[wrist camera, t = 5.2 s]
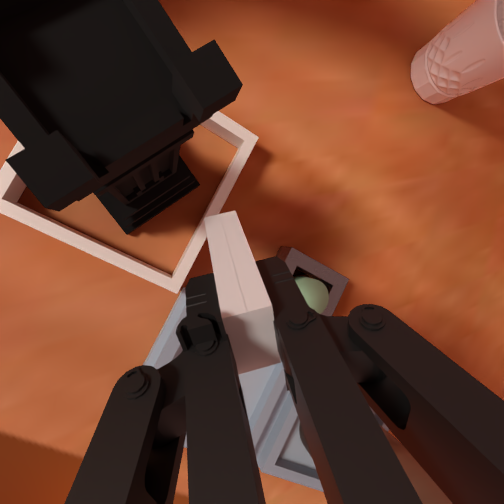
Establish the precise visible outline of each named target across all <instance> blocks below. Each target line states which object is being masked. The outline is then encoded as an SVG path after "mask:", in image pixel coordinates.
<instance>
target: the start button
mask: <svg viewBox="0 0 504 504" xmlns="http://www.w3.org/2000/svg"><path fill="white" fill-rule="evenodd" d="M293 278H294V279H295V281H296V283H297V285H298V287H299V289H300V291H301V293H302V295H303V296H304V298H305V300H306V302H307V304H308V305H309V307H310V308H312V309H314V310H315V311H316V312H317V313H319V314H321V313H322V312H323V311H324V310H325V308H326V307H327V304H328V300H329V294H328V290H327V288H326V286H325V285H324V284H323V283H322V282H321V281H319V280H316V279H312V278H309V277H305V276H294V277H293Z"/></svg>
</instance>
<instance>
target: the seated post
mask: <svg viewBox="0 0 504 504" xmlns="http://www.w3.org/2000/svg"><path fill="white" fill-rule="evenodd" d="M379 425H380V424H379ZM380 427H381V428H382V430H383V432H384V434H385V436H386V438H387V439H388V441H389V443H390V445H391V447H392V449H393V450H394V452H395V454H396V456H397V458H398V459H399V461H400V463H401V465H402V467H403V469H404V470H405V472H406V474H407V476H408V478H409V480H410V481H411V483H412V485H413V487H414V489H415V490H416V492H417V494H418V496H419V498H420V500H421V501H422V503H423V504H453V503H452V502H451V501H450V500H449V499H448V497H447V496H446V495H445V494H444V493H443V491H442V490H441V489H440V488H439V487H438V486H437V484H436V483H435V482H434V481H433V480H432V479H431V477H430V476H429V475H428V474H427V473H426V472H425V470H424V469H423V468H422V467H421V466H420V465H419V463H418V462H417V461H416V460H415V459H414V458H413V456H412V455H411V454H410V453H409V452H408V450H407V449H406V448H405V447H404V446H403V445H402V444H401V443H400V442H399V441H398V440H397V439H396V438H394V437H393V436H392V435H391V434H390V433H389V432H388V431H387V430H385V429H384V428H383V427H382V426H381V425H380ZM299 434H300V439H301V441H302V443H303V445H304V447H305V448H306V450H307V451H308V453H309V454H310V456H311V453H310V450H309V447H308V444H307V441H306V438H305V435H304V432H303V429H302V426H301V423H300V425H299ZM311 457H312V456H311Z"/></svg>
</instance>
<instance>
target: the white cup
mask: <svg viewBox="0 0 504 504" xmlns="http://www.w3.org/2000/svg"><path fill="white" fill-rule="evenodd" d="M503 78H504V0H476V1H475V2H474V3H473V4H471V5H470V6H469V7H468V8H467V9H465V10H464V11H463V12H462V13H461V14H459V15H458V16H457V17H456V18H455V19H454V20H453V21H451V22H450V23H449V24H448V25H447V26H446V27H444V28H443V29H442V30H441V31H440V32H439V33H438V34H437V35H436V36H435V37H434V38H433V39H432V40H431V41H430V42H428V43H427V44H426V45H425V46H423V47H422V48H421V49H420V50H418V51H417V52H416V54H415V56H414V58H413V61H412V63H411V80H412V83H413V86H414V89H415V91H416V92H417V93H418V95H419V96H420V97H421V98H422V99H423V100H425V101H427V102H429V103H431V104H439V103H444V102H447V101H449V100H451V99H454V98H456V97H458V96H461V95H464V94H467V93H470V92H472V91H474V90H476V89H479V88H482V87H484V86H487V85H489V84H492V83H494V82H496V81H499V80H501V79H503Z"/></svg>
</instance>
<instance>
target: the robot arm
mask: <svg viewBox="0 0 504 504" xmlns="http://www.w3.org/2000/svg"><path fill="white" fill-rule="evenodd" d="M204 222H205V227H206V233H207V239H208V244H209V250H210V255H211V261H212V267H213V272H214V273H211V274H206V275H202V276H198V277H194V278H190V280H189V282H188V284H187V286H186V288H185V295H186V317H185V318H183V319H182V320H181V322H180V323H179V324H178V326H177V329H176V335H177V338H178V340H179V342H180V345H181V347H182V349H183V351H182V352H181V353H180V354H179V355H178V356H177V357H176V358H175V359H174V360H172V361H171V362H169V363H167V364H166V365H164V366H162V367H160V368H159V369H156V368H154V367H153V366H148V365H142V366H138V367H135V368H133V369H131V370H129V371H127V372H126V373H125V374H124V375H123V376H122V377H121V378H120V379H119V380H118V381H117V383H116V385H115V386H114V388H113V390H112V392H111V395H110V397H109V400H108V402H107V404H106V407H105V409H104V411H103V414H102V416H101V418H100V421H99V423H98V426H97V428H96V430H95V433H94V435H93V437H92V440H91V442H90V445H89V447H88V449H87V452H86V454H85V456H84V459H83V461H82V463H81V466H80V469H79V471H78V473H77V475H76V478H75V480H74V483H73V485H72V487H71V490H70V492H69V494H68V497H67V499H66V501H65V504H173V500H174V495H175V490H176V485H177V479H178V474H179V469H180V463H181V458H182V453H183V448H184V442H185V437H186V432H187V460H188V488H189V504H266V502H265V498H264V493H263V488H262V483H261V478H260V473H259V468H258V464H257V459H256V454H255V449H254V444H253V439H252V434H251V429H250V425H249V420H248V415H247V410H246V405H245V400H244V395H243V391H242V387H241V384H240V380H239V374H242V373H246V372H250V371H253V370H257V369H260V368H264V367H267V366H271V365H274V364H278V363H281V362H282V364H283V367H284V373H285V380H286V387H287V391H288V390H289V391H290V393H291V396H292V399H293V402H294V405H295V408H296V411H297V414H298V417H299V420H300V423H301V426H302V429H303V432H304V435H305V438H306V441H307V444H308V447H309V450H310V453H311V456H312V459H313V462H314V464H315V467H316V470H317V473H318V476H319V479H320V482H321V485H322V488H323V491H324V494H325V497H326V500H327V503H328V504H423V503H422V501H421V500H420V498H419V496H418V494H417V492H416V490H415V489H414V487H413V485H412V483H411V481H410V480H409V478H408V476H407V474H406V472H405V470H404V469H403V467H402V465H401V463H400V461H399V459H398V458H397V456H396V454H395V452H394V450H393V449H392V447H391V445H390V443H389V441H388V439H387V438H386V436H385V434H384V432H383V430H382V428H381V427H380V425H379V423H378V421H377V419H376V418H375V416H374V414H373V412H372V410H373V411H374V412H375V413H376V414H377V415H378V417H379V418H380V419H381V420H382V421H383V422H384V424H385V425H386V426H387V427H388V428H389V429H390V431H391V432H392V433H393V434H394V435H395V436H396V438H397V439H398V440H399V441H400V442H401V443H402V445H403V446H404V447H405V448H406V449H407V450H408V452H409V453H410V454H411V455H412V456H413V458H414V459H415V460H416V461H417V462H418V463H419V465H420V466H421V467H422V468H423V469H424V470H425V472H426V473H427V474H428V475H429V476H430V477H431V479H432V480H433V481H434V482H435V483H436V484H437V486H438V487H439V488H440V489H441V490H442V491H443V493H444V494H445V495H446V496H447V497H448V499H449V500H450V501H451V502H452V503H453V504H504V401H503V400H502V399H501V398H499V397H498V396H497V395H496V394H494V393H493V392H492V391H490V390H489V389H488V388H487V387H485V386H484V385H483V384H482V383H480V382H479V381H478V380H476V379H475V378H474V377H473V376H471V375H470V374H469V373H468V372H466V371H465V370H464V369H462V368H461V367H460V366H459V365H457V364H456V363H455V362H454V361H452V360H451V359H450V358H449V357H447V356H446V355H445V354H443V353H442V352H441V351H440V350H438V349H437V348H436V347H435V346H433V345H432V344H431V343H429V342H428V341H427V340H426V339H424V338H423V337H422V336H421V335H419V334H418V333H417V332H415V331H414V330H413V329H412V328H410V327H409V326H408V325H407V324H405V323H404V322H403V321H401V320H400V319H399V318H398V317H396V316H395V315H394V314H393V313H391V312H390V311H388V310H387V309H385V308H383V307H381V306H377V305H373V304H363V305H360V306H357V307H355V308H354V309H353V310H351V311H350V314H349V316H348V317H333V316H325V315H322V314H319V313H317V312H316V311H315V310H314V309H312V308H310V307H309V305H308V304H307V302H306V300H305V298H304V296H303V295H302V293H301V291H300V289H299V287H298V285H297V283H296V281H295V279H294V278H293V276H292V274H291V272H290V270H289V268H288V266H287V264H286V262H284V261H283V260H281V259H280V258H278V257H277V256H275V257H271V258H267V259H263V260H259V261H255V260H254V257H253V255H252V252H251V250H250V247H249V245H248V242H247V239H246V237H245V234H244V232H243V229H242V226H241V224H240V221H239V219H238V216H237V214H236V211H231V212H226V213H222V214H218V215H213V216H209V217H205V218H204ZM280 359H281V360H280ZM369 406H370V407H371V408H372V410H371V408H370V407H369Z"/></svg>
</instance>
